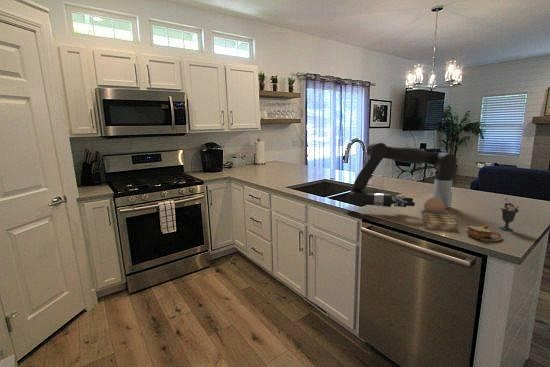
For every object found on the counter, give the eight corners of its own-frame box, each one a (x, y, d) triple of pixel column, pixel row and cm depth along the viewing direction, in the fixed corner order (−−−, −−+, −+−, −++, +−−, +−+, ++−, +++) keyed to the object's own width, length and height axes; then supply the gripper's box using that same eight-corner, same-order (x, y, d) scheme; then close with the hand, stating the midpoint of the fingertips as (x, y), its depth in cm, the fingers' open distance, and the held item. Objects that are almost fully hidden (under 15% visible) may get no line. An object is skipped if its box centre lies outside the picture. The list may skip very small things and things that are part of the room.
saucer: (423, 215, 149) (425, 198, 147) (422, 214, 151) (424, 197, 149) (444, 217, 146) (446, 199, 144) (443, 216, 148) (445, 198, 145)
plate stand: (421, 218, 148) (422, 212, 147) (420, 214, 153) (420, 208, 153) (447, 220, 144) (447, 213, 143) (444, 216, 149) (445, 210, 149)
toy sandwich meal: (508, 243, 116) (510, 232, 115) (475, 242, 118) (476, 232, 117) (489, 231, 128) (491, 222, 127) (459, 231, 130) (460, 222, 129)
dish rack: (426, 228, 134) (426, 221, 134) (422, 219, 146) (422, 213, 146) (456, 230, 130) (457, 223, 129) (449, 221, 142) (450, 215, 141)
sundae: (493, 227, 133) (498, 197, 130) (506, 226, 134) (511, 197, 130) (505, 232, 127) (510, 201, 123) (519, 231, 127) (524, 201, 124)
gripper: (383, 196, 149) (416, 198, 143) (382, 190, 162) (412, 192, 156) (382, 209, 150) (414, 212, 145) (381, 202, 163) (411, 204, 158)
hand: (413, 202), depth 150 cm, fingers open, 8 cm apart
